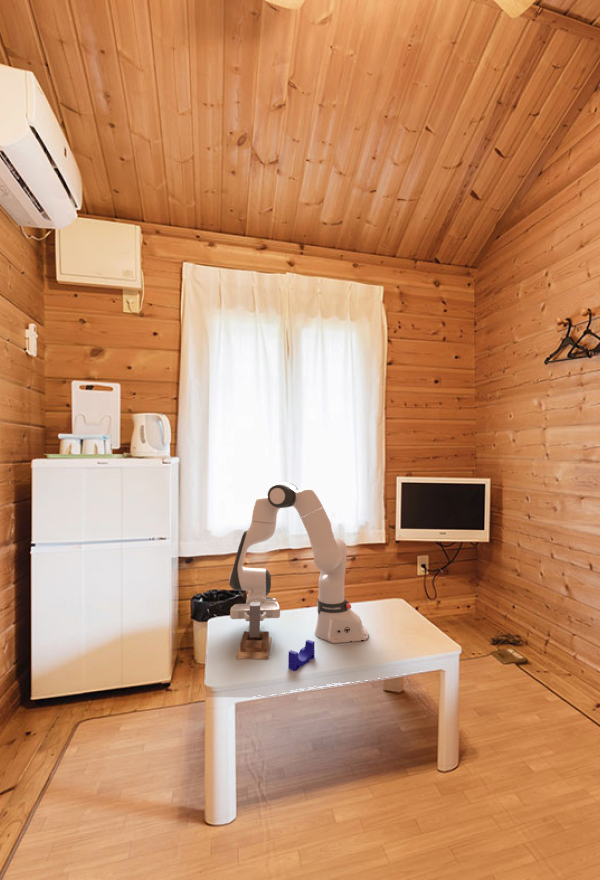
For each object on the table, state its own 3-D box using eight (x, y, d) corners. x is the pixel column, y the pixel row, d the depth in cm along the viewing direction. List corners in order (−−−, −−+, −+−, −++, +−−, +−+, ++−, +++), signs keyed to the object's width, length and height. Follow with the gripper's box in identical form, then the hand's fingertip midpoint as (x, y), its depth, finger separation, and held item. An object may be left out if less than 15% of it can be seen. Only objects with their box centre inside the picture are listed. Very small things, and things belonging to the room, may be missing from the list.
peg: (259, 632, 160) (260, 602, 161) (259, 637, 156) (259, 605, 157) (249, 632, 160) (250, 602, 160) (249, 637, 156) (249, 605, 156)
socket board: (271, 639, 166) (271, 628, 166) (268, 658, 150) (268, 646, 150) (242, 639, 166) (242, 628, 166) (236, 658, 150) (236, 646, 150)
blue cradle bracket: (304, 654, 153) (304, 638, 154) (314, 658, 151) (314, 641, 151) (285, 667, 144) (285, 650, 144) (295, 671, 141) (295, 654, 141)
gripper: (231, 599, 171) (228, 611, 157) (279, 598, 172) (280, 610, 158) (231, 614, 170) (227, 627, 156) (279, 613, 172) (280, 626, 158)
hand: (254, 619), depth 157 cm, fingers closed on peg, 4 cm apart
